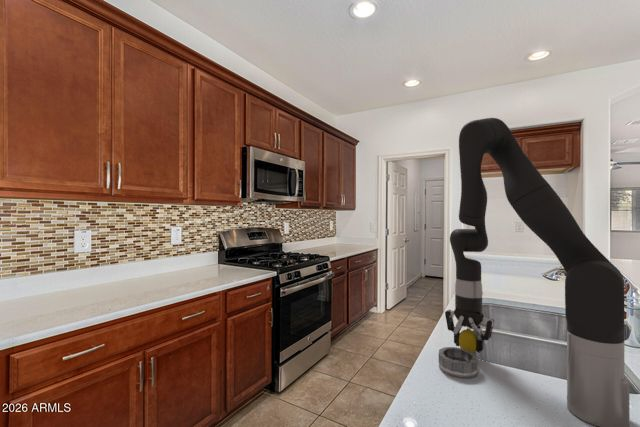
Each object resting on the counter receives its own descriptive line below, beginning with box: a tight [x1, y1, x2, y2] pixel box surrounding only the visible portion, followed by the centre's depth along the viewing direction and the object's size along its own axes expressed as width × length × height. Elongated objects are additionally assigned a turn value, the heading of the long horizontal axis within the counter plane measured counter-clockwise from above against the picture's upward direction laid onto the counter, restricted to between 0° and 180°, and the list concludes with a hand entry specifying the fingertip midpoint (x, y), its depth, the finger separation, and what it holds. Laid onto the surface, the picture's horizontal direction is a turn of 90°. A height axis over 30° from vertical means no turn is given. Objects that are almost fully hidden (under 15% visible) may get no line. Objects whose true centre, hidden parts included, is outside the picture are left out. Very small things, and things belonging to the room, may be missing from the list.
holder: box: [438, 346, 479, 380], centre depth 85 cm, size 10×10×4 cm
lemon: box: [458, 328, 478, 354], centre depth 94 cm, size 6×6×8 cm
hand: (468, 348), depth 94 cm, fingers closed on lemon, 5 cm apart
